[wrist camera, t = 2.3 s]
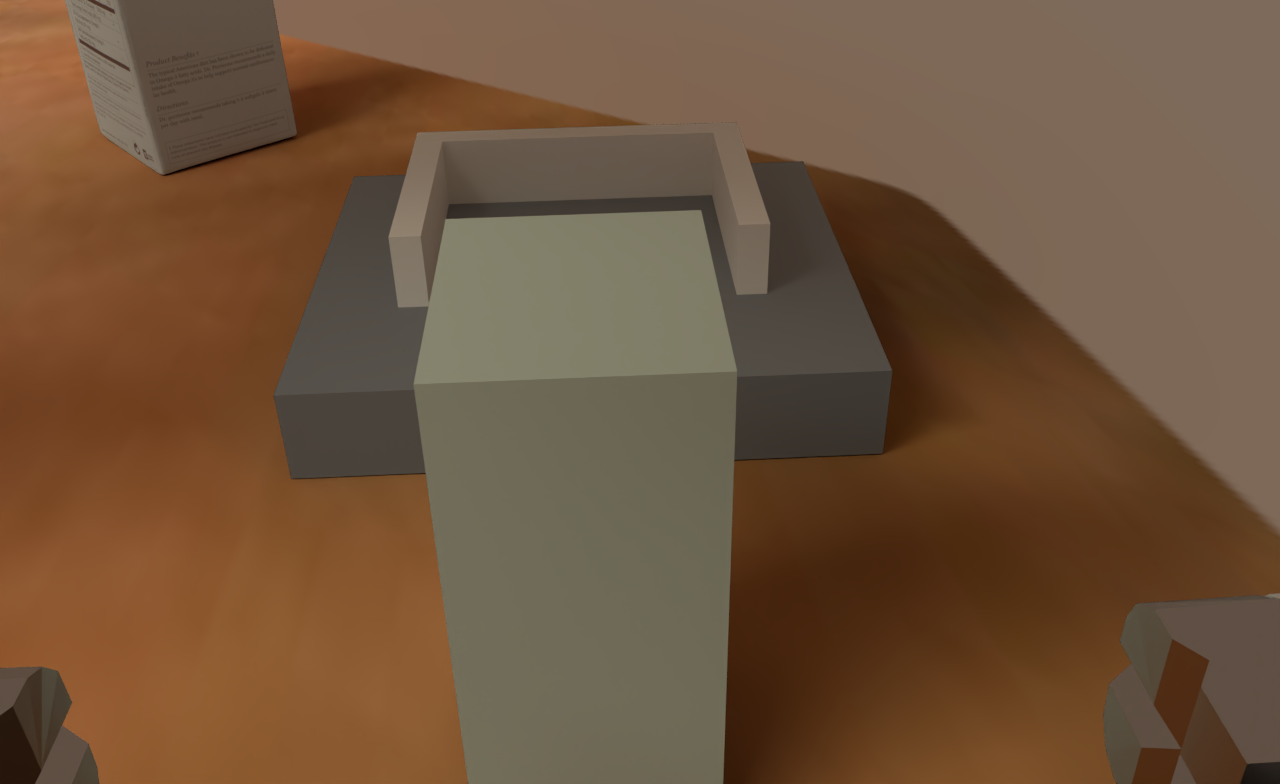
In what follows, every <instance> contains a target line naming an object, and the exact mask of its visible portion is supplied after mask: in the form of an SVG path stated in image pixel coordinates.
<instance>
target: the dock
mask: <svg viewBox="0 0 1280 784" xmlns="http://www.w3.org/2000/svg"><path fill="white" fill-rule="evenodd" d="M690 210H701V212H702V217H703V221H704V225H705V230H706V234H707V239H708V243H709V248H710V252H711V257H712V261H713V266H714V270H715V275H716V279H717V284H718V288H719V292H720V297H721V301H722V306H723V310H724V315H725V319H726V324H727V328H728V333H729V337H730V342H731V346H732V350H733V355H734V359H735V364H736V368H737V392H736V421H735V451H734V460H744V459H768V458H791V457H815V456H838V455H862V454H883V448H884V439H885V431H886V422H887V413H888V405H889V396H890V387H891V379H892V369H891V366H890V364H889V362H888V359H887V357H886V354H885V352H884V350H883V347H882V345H881V343H880V340H879V338H878V336H877V333H876V331H875V329H874V326H873V324H872V322H871V319H870V317H869V315H868V312H867V310H866V308H865V305H864V303H863V301H862V298H861V296H860V294H859V291H858V289H857V286H856V284H855V282H854V279H853V277H852V275H851V272H850V270H849V268H848V265H847V263H846V261H845V258H844V256H843V254H842V251H841V249H840V247H839V244H838V242H837V240H836V237H835V235H834V233H833V230H832V228H831V226H830V223H829V221H828V218H827V216H826V214H825V211H824V209H823V207H822V204H821V202H820V200H819V197H818V195H817V193H816V190H815V188H814V186H813V183H812V181H811V179H810V176H809V174H808V172H807V169H806V167H805V165H804V162H803V161H801V162H772V163H750V161H749V158H748V155H747V151H746V148H745V145H744V142H743V140H742V136H741V134H740V130H739V127H738V124H737V122H725V123H697V124H696V123H694V124H663V125H633V126H602V127H571V128H541V129H510V130H479V131H449V132H418V133H417V136H416V140H415V144H414V147H413V151H412V154H411V158H410V162H409V165H408V169H407V172H406V175H387V176H358V177H354V178H353V181H352V184H351V187H350V189H349V192H348V195H347V197H346V200H345V203H344V206H343V208H342V211H341V214H340V216H339V219H338V222H337V225H336V227H335V230H334V233H333V235H332V238H331V241H330V244H329V246H328V249H327V252H326V254H325V257H324V260H323V263H322V265H321V268H320V271H319V274H318V276H317V279H316V282H315V284H314V287H313V290H312V293H311V295H310V298H309V301H308V303H307V306H306V309H305V312H304V314H303V317H302V320H301V322H300V325H299V328H298V331H297V333H296V336H295V339H294V341H293V344H292V347H291V350H290V352H289V355H288V358H287V360H286V363H285V366H284V369H283V371H282V374H281V377H280V379H279V382H278V385H277V388H276V390H275V393H274V400H275V404H276V409H277V414H278V418H279V423H280V428H281V432H282V437H283V442H284V447H285V451H286V456H287V461H288V465H289V470H290V475H291V479H296V478H320V477H343V476H367V475H390V474H414V473H426V472H425V465H424V457H423V450H422V443H421V435H420V428H419V421H418V414H417V406H416V399H415V392H414V379H415V374H416V369H417V364H418V358H419V353H420V348H421V343H422V338H423V333H424V328H425V322H426V317H427V312H428V307H429V302H430V297H431V292H432V286H433V281H434V276H435V271H436V266H437V261H438V255H439V250H440V245H441V240H442V235H443V230H444V225H445V219H462V218H491V217H519V216H548V215H576V214H605V213H633V212H662V211H690Z"/></svg>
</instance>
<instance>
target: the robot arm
mask: <svg viewBox="0 0 1280 784" xmlns="http://www.w3.org/2000/svg"><path fill="white" fill-rule="evenodd" d="M1120 643H1121V645H1122V646H1123V648H1124V650H1125V652H1126V654H1127V656H1128V658H1129V660H1130V661H1131V663H1132V664H1131V665H1130V666H1128V667H1127V668H1126V669H1125V670H1124V671H1123V672H1122V673H1121V674H1120V675H1118V676H1117V677H1116V678H1115V679H1114V680H1113V681H1112V682H1111V683H1109V688H1108V693H1107V698H1106V703H1105V709H1104V714H1103V720H1104V733H1105V747H1106V752H1107V756H1108V760H1109V763H1110V767H1111V770H1112V774H1113V777H1114V779H1115V782H1116V784H1280V593H1277V594H1268V595H1266V596H1260V595H1254V596H1239V597H1224V598H1209V599H1194V600H1179V601H1164V602H1149V603H1137V604H1136V605H1135V606H1134V608H1133V609H1132V610H1131V612H1130V613H1129V614H1128V615H1127V617H1126V620H1125V624H1124V628H1123V632H1122V635H1121V639H1120ZM71 704H72V701H71V699H70V696H69V694H68V692H67V690H66V688H65V685H64V683H63V681H62V679H61V677H60V674H59V672H58V671H56V670H52V669H49V668H45V667H18V668H0V784H99V777H98V770H97V765H96V762H95V760H94V757H93V754H92V752H91V749H90V746H89V744H88V743H87V742H85V741H84V740H82V739H81V738H79V737H78V736H76V735H75V734H74V733H72V732H71V731H69V730H68V729H66V728H65V727H63V726H62V724H63V722H64V720H65V717H66V715H67V713H68V711H69V708H70V706H71Z"/></svg>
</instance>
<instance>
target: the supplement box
mask: <svg viewBox="0 0 1280 784" xmlns="http://www.w3.org/2000/svg"><path fill="white" fill-rule="evenodd" d="M65 2H66V6H67V10H68V13H69V17H70V20H71V24H72V28H73V32H74V36H75V40H76V43H77V47H78V50H79V55H80V58H81V61H82V65H83V69H84V73H85V76H86V80H87V84H88V88H89V92H90V96H91V99H92V103H93V107H94V110H95V114H96V118H97V121H98V125H99V128H100V131H101V133H102V134H103V135H105V136H106V138H108V139H109V140H110V141H112V142H113V143H115V144H116V145H118V146H119V147H120V148H122V149H123V150H125V151H126V152H128V153H129V154H131V155H132V156H134V157H135V158H137V159H138V160H140V161H141V162H142V163H144V164H145V165H147V166H148V167H150V168H152V169H153V170H155V171H156V172H158V173H159V174H162V175H165V174H168V173H171V172H174V171H177V170H180V169H184V168H187V167H190V166H194V165H197V164H200V163H204V162H207V161H211V160H214V159H217V158H221V157H224V156H228V155H231V154H235V153H238V152H242V151H245V150H248V149H252V148H255V147H259V146H262V145H265V144H269V143H272V142H276V141H279V140H283V139H286V138H290V137H293V136H296V135H297V130H296V124H295V119H294V113H293V108H292V102H291V97H290V91H289V86H288V81H287V75H286V69H285V64H284V59H283V53H282V48H281V42H280V37H279V31H278V26H277V20H276V15H275V9H274V4H273V0H65Z"/></svg>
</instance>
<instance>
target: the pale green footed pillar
mask: <svg viewBox="0 0 1280 784" xmlns="http://www.w3.org/2000/svg"><path fill="white" fill-rule="evenodd" d="M414 392H415V399H416V406H417V414H418V421H419V428H420V435H421V443H422V450H423V457H424V465H425V472H426V479H427V487H428V494H429V501H430V508H431V516H432V523H433V530H434V538H435V545H436V552H437V559H438V567H439V574H440V581H441V589H442V596H443V603H444V610H445V618H446V625H447V632H448V640H449V647H450V654H451V661H452V669H453V676H454V683H455V691H456V698H457V705H458V712H459V720H460V727H461V734H462V742H463V749H464V756H465V763H466V771H467V778H468V784H723V775H724V745H725V716H726V686H727V657H728V628H729V598H730V569H731V539H732V510H733V480H734V451H735V421H736V392H737V368H736V364H735V359H734V355H733V350H732V346H731V342H730V337H729V333H728V328H727V324H726V319H725V315H724V310H723V306H722V301H721V297H720V292H719V288H718V284H717V279H716V275H715V270H714V266H713V261H712V257H711V252H710V248H709V243H708V239H707V234H706V230H705V225H704V221H703V217H702V212H701V210H690V211H662V212H633V213H605V214H576V215H548V216H519V217H491V218H462V219H445V225H444V230H443V235H442V240H441V245H440V250H439V255H438V261H437V266H436V271H435V276H434V281H433V286H432V292H431V297H430V302H429V307H428V312H427V317H426V322H425V328H424V333H423V338H422V343H421V348H420V353H419V358H418V364H417V369H416V374H415V379H414Z"/></svg>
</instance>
